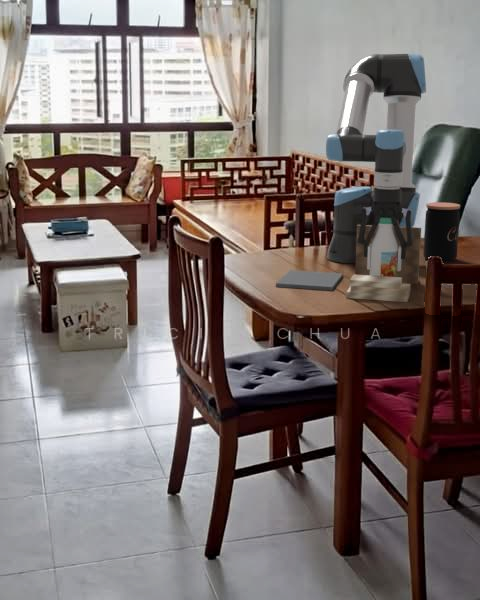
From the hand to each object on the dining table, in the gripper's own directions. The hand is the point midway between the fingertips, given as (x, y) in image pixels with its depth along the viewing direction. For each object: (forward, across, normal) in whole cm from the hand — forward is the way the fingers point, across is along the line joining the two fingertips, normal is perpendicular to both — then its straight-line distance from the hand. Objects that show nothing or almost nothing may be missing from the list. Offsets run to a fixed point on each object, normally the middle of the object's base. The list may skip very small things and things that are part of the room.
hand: (383, 269), depth 235 cm
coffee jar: (+5, +13, +45) cm, 47 cm away
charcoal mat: (+5, -21, +1) cm, 22 cm away
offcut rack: (+5, 0, -2) cm, 5 cm away
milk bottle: (+5, 0, 0) cm, 5 cm away
